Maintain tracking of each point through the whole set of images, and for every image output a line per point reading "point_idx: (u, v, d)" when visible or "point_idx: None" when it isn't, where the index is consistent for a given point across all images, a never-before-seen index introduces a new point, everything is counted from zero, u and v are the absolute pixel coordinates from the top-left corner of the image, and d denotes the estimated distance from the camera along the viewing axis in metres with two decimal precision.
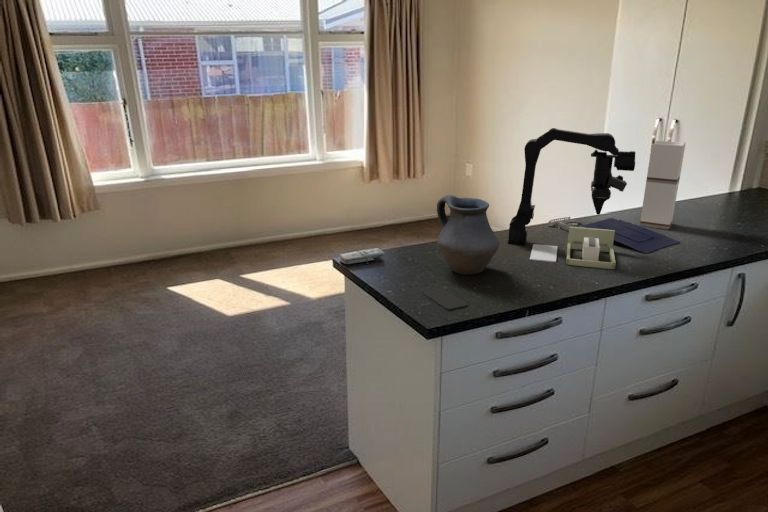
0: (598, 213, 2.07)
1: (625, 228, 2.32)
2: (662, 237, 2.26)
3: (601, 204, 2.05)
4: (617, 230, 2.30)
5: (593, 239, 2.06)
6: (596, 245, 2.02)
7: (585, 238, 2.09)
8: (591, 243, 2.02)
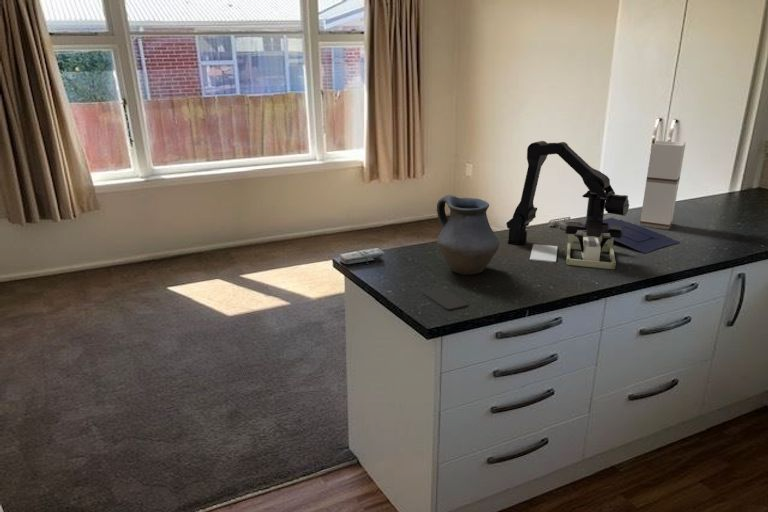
0: None
1: (625, 228, 2.33)
2: (662, 237, 2.27)
3: None
4: None
5: (593, 239, 2.06)
6: (597, 245, 2.02)
7: (584, 238, 2.09)
8: (592, 243, 2.02)
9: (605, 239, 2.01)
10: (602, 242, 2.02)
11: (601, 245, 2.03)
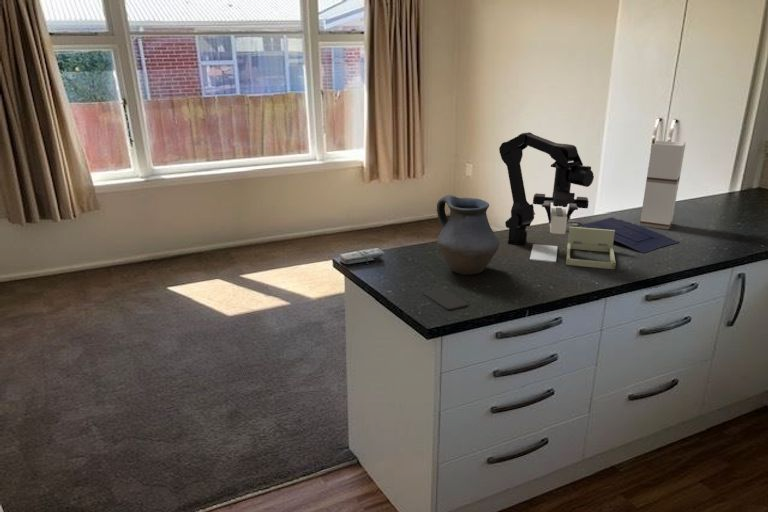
0: (549, 221, 2.07)
1: (624, 228, 2.33)
2: (661, 237, 2.27)
3: None
4: (616, 229, 2.31)
5: (560, 209, 2.07)
6: (563, 215, 2.02)
7: (552, 209, 2.09)
8: (559, 213, 2.02)
9: (572, 209, 2.01)
10: (569, 213, 2.03)
11: (568, 216, 2.04)
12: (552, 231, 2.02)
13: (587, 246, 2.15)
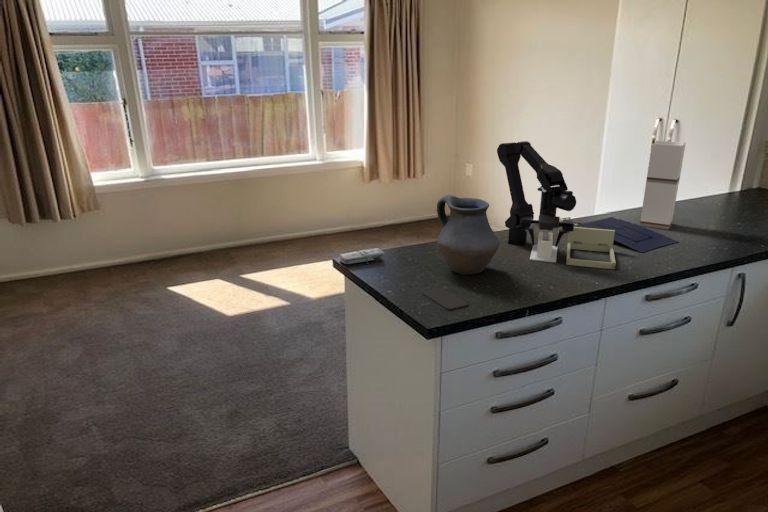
0: None
1: (624, 227, 2.34)
2: (660, 236, 2.27)
3: None
4: (615, 229, 2.31)
5: (547, 233, 2.11)
6: (549, 239, 2.06)
7: (539, 233, 2.14)
8: (545, 237, 2.06)
9: (561, 233, 2.05)
10: (559, 236, 2.06)
11: (558, 239, 2.07)
12: (538, 255, 2.06)
13: (587, 246, 2.15)
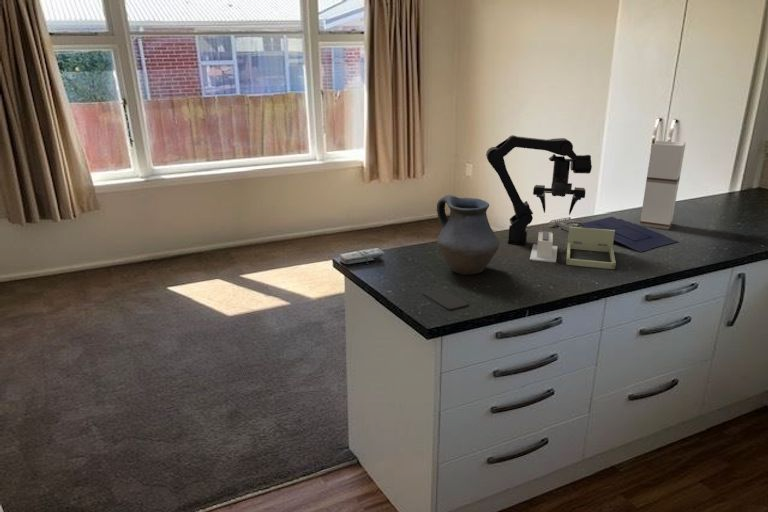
0: None
1: (623, 227, 2.34)
2: (660, 236, 2.27)
3: None
4: (615, 229, 2.31)
5: (547, 233, 2.11)
6: (549, 239, 2.06)
7: (539, 233, 2.14)
8: (545, 237, 2.06)
9: (575, 200, 2.13)
10: (572, 203, 2.15)
11: (571, 206, 2.15)
12: (538, 255, 2.06)
13: (587, 246, 2.15)
